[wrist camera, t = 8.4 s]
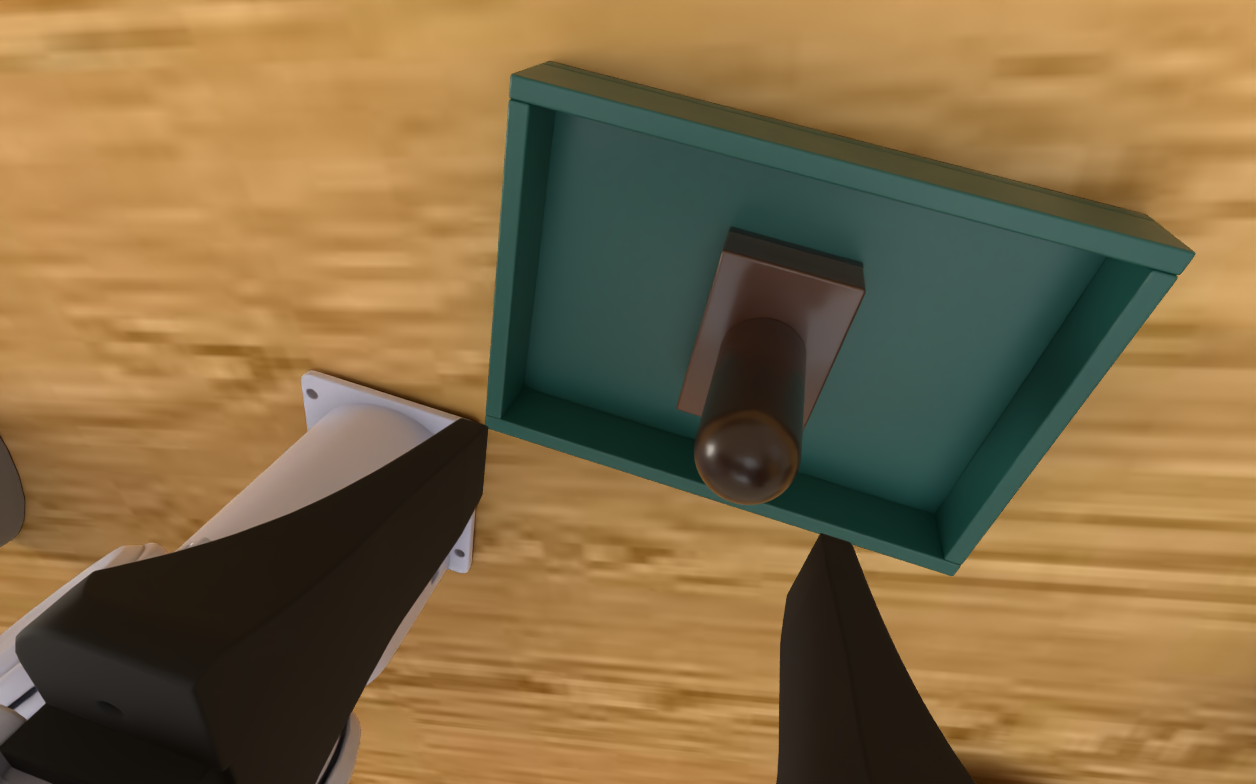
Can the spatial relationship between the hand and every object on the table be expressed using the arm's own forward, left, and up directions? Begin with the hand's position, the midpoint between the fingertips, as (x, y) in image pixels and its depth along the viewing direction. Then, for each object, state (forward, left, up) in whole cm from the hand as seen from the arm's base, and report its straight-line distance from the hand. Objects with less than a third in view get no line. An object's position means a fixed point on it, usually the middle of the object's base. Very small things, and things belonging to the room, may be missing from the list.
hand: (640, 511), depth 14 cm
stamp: (0, -2, -9) cm, 9 cm away
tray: (0, -2, -10) cm, 10 cm away
